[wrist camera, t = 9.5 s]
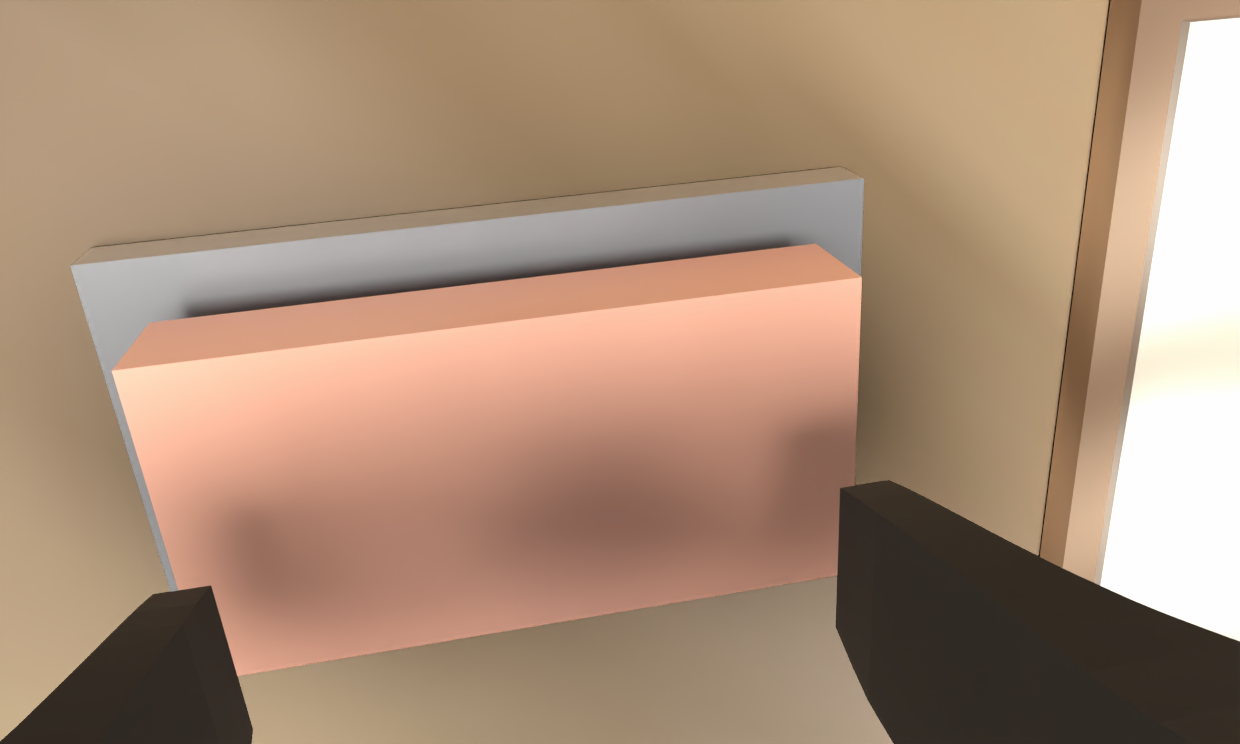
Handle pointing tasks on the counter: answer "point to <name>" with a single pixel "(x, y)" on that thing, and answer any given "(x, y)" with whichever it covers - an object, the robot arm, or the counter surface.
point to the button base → (451, 255)
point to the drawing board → (1157, 323)
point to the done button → (500, 450)
